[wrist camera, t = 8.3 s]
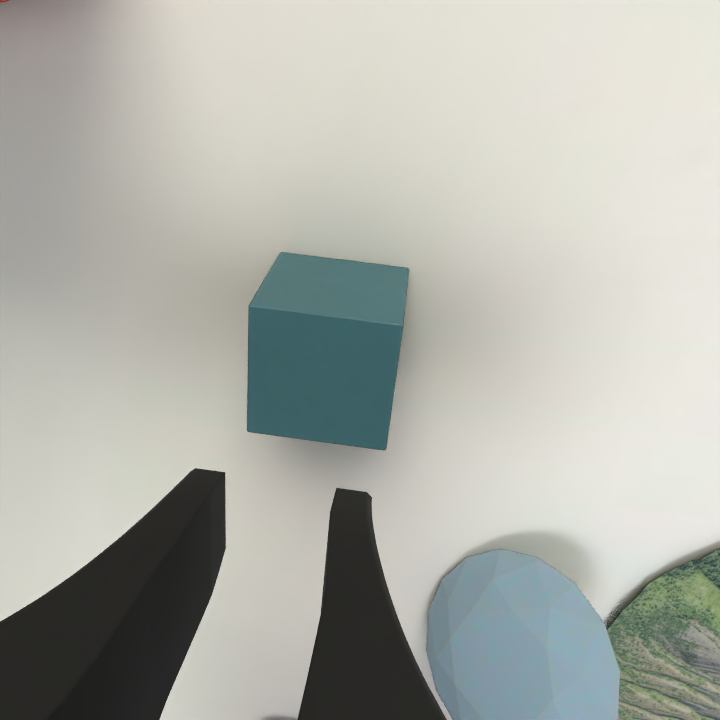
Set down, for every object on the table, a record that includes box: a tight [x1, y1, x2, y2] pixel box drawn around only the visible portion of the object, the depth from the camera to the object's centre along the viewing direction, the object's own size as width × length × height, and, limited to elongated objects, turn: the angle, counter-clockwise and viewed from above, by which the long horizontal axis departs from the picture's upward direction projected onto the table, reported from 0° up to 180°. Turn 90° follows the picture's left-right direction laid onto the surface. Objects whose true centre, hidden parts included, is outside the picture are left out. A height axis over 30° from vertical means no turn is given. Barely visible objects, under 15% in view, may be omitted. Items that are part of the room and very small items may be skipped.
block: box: [247, 252, 409, 450], centre depth 20 cm, size 4×4×4 cm
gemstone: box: [426, 549, 620, 720], centre depth 26 cm, size 8×8×5 cm
